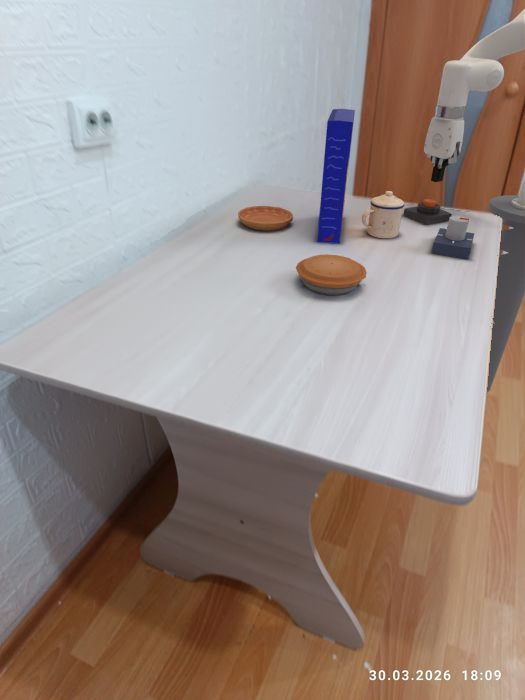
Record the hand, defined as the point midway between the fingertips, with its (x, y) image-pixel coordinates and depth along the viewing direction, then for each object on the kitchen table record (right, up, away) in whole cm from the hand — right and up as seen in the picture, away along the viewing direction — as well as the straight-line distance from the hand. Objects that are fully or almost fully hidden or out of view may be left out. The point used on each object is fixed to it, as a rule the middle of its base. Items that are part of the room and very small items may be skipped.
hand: (436, 181), depth 142 cm
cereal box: (-32, -16, -4) cm, 36 cm away
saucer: (-51, -13, -1) cm, 53 cm away
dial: (-1, -21, -17) cm, 27 cm away
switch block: (-1, -9, +6) cm, 11 cm away
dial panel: (-1, -23, -15) cm, 28 cm away
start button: (-1, -6, +4) cm, 7 cm away
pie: (-37, -36, -35) cm, 62 cm away
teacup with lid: (-19, -18, -7) cm, 27 cm away
